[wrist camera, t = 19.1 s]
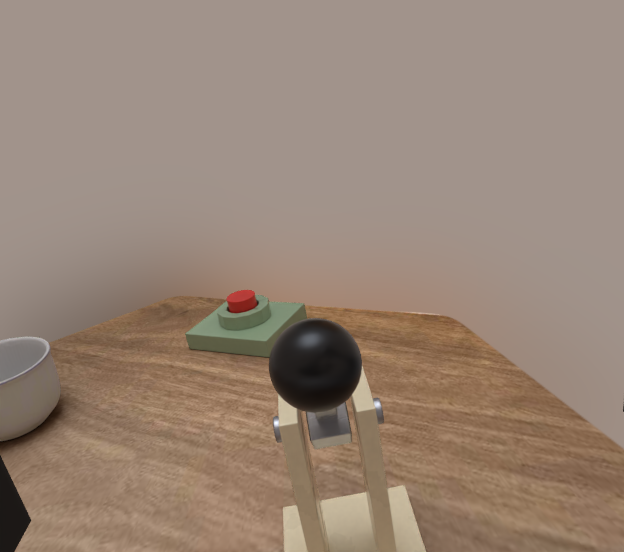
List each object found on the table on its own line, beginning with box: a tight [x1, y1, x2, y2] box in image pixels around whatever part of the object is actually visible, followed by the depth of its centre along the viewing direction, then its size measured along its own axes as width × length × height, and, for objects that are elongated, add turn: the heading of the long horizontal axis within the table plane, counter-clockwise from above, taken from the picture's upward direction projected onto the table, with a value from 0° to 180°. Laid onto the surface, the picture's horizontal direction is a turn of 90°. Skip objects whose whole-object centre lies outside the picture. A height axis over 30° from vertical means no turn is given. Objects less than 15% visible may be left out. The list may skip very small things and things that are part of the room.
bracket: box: [273, 366, 426, 552], centre depth 31 cm, size 11×9×14 cm
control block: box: [185, 295, 307, 357], centre depth 68 cm, size 12×10×4 cm
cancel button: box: [227, 290, 257, 313], centre depth 67 cm, size 4×4×2 cm
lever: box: [269, 318, 362, 449], centre depth 25 cm, size 13×4×4 cm
